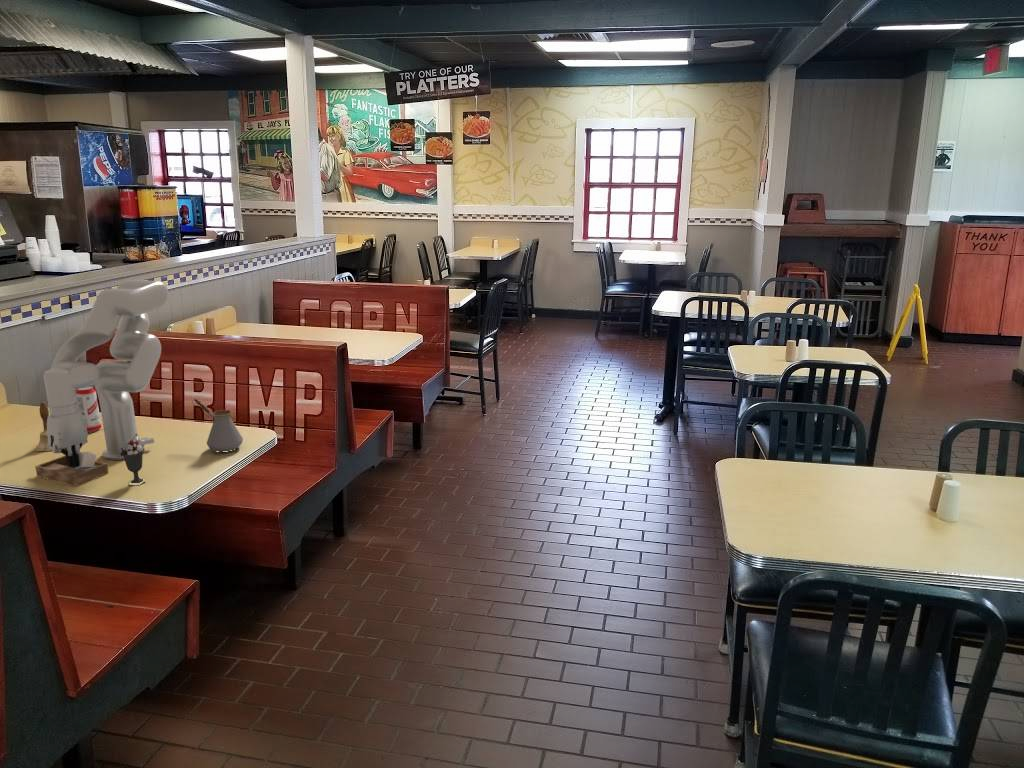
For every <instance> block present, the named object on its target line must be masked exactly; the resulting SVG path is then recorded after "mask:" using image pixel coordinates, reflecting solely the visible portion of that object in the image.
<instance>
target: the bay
mask: <svg viewBox="0 0 1024 768" xmlns="http://www.w3.org/2000/svg"><path fill="white" fill-rule="evenodd" d="M97 466H98V465H94V467H80V466H79V467H77V468H75V469H79V470H83V471H87V470H89V469H92V468H95V467H97Z"/></svg>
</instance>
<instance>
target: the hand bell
mask: <svg viewBox="0 0 1024 768" xmlns="http://www.w3.org/2000/svg"><path fill="white" fill-rule="evenodd" d="M39 404H40V405H39V415H40V418H41V420H42V425H43V431H41V432H40V433H39V441H38V444H37V445H36V447H35V451H36V450H37V452H41V451H44V452H52V448H53V447H50V446H49V443H48V436H47V418H48V416H50V411H49V406H47V403H46V402H45V401H42V402H40V403H39Z"/></svg>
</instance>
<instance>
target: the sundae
mask: <svg viewBox="0 0 1024 768" xmlns="http://www.w3.org/2000/svg"><path fill="white" fill-rule="evenodd" d="M137 435H138V433H137V434H135V436H137ZM134 438H135V437H134ZM134 438H133V439H134ZM121 450H122V451H121V452H120V455H121V456H123V457H124V459H123V460H124V462H125V466H126V468H127V470H128V471H130V472H131V473H133V479H132V480H130V481H131V483H140V482H142V481H143V479H144V478H140V476H139V472H140V471H141V469H142V468H143V457H144V456H143V454H144V453H145V451H146V450H144V449H143V448H142V447H141V446H140V445H139V442H138V441H137V440H136V441H135V442H134V441H133V440H130V442H129V443H127V444H126V446H125V449H124V450H123V449H122V448H121Z"/></svg>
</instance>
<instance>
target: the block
mask: <svg viewBox="0 0 1024 768" xmlns="http://www.w3.org/2000/svg"><path fill="white" fill-rule="evenodd" d="M78 456H79V466H80V467H94V465H95V461H97V460H96V458H97V453H93V452H90V451H80V452H79V453H78Z"/></svg>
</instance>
